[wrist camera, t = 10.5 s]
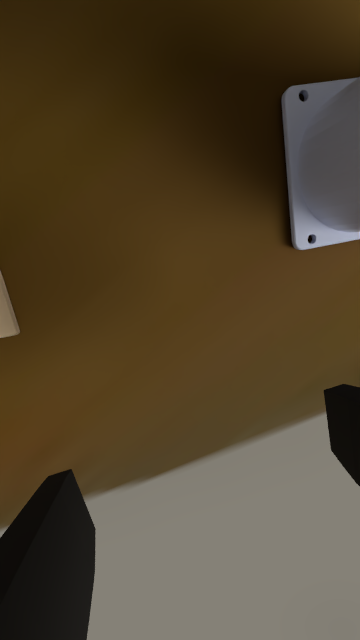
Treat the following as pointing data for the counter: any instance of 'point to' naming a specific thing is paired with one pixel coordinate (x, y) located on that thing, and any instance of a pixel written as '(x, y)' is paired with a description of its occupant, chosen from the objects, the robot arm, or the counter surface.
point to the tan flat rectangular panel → (6, 313)
